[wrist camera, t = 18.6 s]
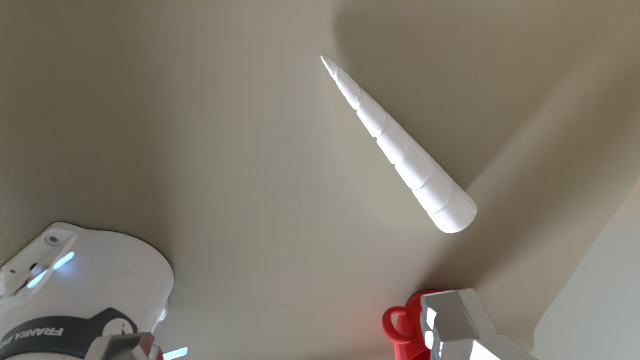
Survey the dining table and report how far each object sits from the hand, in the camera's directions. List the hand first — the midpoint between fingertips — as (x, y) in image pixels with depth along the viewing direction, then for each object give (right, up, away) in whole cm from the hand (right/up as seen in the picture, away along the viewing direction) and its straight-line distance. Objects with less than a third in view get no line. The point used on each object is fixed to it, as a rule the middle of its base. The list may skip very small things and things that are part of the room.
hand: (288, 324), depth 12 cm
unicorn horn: (+9, +8, +29) cm, 32 cm away
